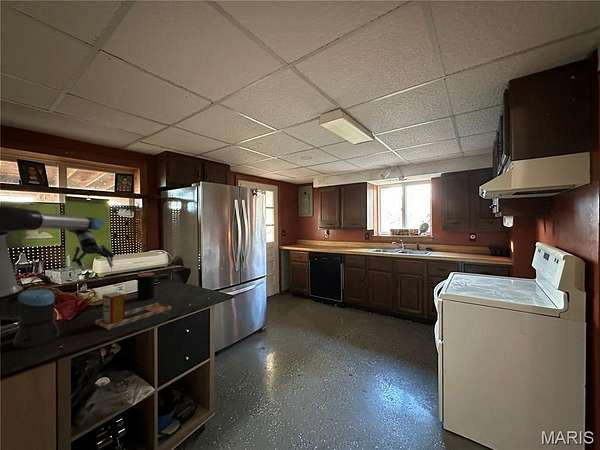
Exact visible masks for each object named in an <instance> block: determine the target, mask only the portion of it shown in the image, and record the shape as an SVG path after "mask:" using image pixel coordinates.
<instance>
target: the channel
mask: <svg viewBox="0 0 600 450" xmlns="http://www.w3.org/2000/svg"><path fill="white" fill-rule="evenodd" d="M159 305H160V302H156V303H151V304H149V305H145V306H141V307H138V308H134V309H131V310H127V311H125V317H127V316H129V315H133V314H136V313H140V312H143V311H147V310H146V309H149V308H152V307H156V306H159ZM164 307H165V308H161V309H158V310H155V311H152V312H150V311H148V312H146V313H142V314H140V315H136V316H133V317H129V318H127V319H126V318H125V319H126V320H123V321H120V322H117V323H113V324H110V325H107V328H106V330H107V331H109V330H111V329H114V328H118V327H120V326H123V325H124V326H125V325H127V324H131V323H133V322H136V321H139V320H142V319H145V318H149V317H151V316H155V315H158V314H160V313H164V312H168V311H170V310H172V306H171V305H168V306H164ZM94 321H95V324H94V325H96V326H97V325H98V324H99V323H102V322H103V318H100V319H96V320H94Z"/></svg>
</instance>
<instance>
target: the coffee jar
mask: <svg viewBox="0 0 600 450" xmlns="http://www.w3.org/2000/svg"><path fill="white" fill-rule="evenodd" d="M154 275H155V273H154V272H144V273H138V274H137V275H136V276H137V279H136V280H137V286H136V287H137V291H136V292H137V300H139V301H147V300H151V299H153V298H154V297H155V276H154Z"/></svg>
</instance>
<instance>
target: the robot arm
mask: <svg viewBox="0 0 600 450" xmlns="http://www.w3.org/2000/svg"><path fill="white" fill-rule="evenodd" d="M103 225H104V220H103V219H102V218H101V217H93V216H92V217H91V216H90V217H89V216H79V215H78V216H77V215H68V214H56V213H44V212H41V211H39V210H35V209H28V208H21V207H13V206H9V205H8V206H7V205H0V321H1V320H18V329H17V332H16V333H15V336H14V338H13V342H12V344H13V345H12V346H13V348H17V349H22V348H25V349H26V348H31V347H35V346H39V345H44V344H46V343H49V342H51V341H53V340H55V339H57V338H59V337H60V329H59V327H58V325H57V323H56V321H55V308H56V307H55V305H56V304H55V300H56V299H55V298H56V297H55V293H54V291H52V290H49V289H31V290H26V291H25V290H24V287H23V286H22V285H18V282H17V279H16V275H15V271H14V267H13V264H12V260H11V256H10V251H9V249H8V245H7V242H6V237H7V236H8V235H9V233H10V232H19V231H20V232H21V231H23V232H24V231H37V230H39V229H49V230H66V231H68V232H71V233H73V234H75V236H76V237H77V240H78V242H79V245H80V246H77V247H75V253H74V255H73V258H72V260H71V262H72V263H75V264H77V266H78V267H80V268H81V271H82V272H85V271H86V265H85V264H84V259H83V258H84V257H85V256H86V255H92V254H93V255H94V254H96V255H100V256H102V257H104V258H106V261H107V264H108V265H109V268H113V265H114V263H113V261H114V260H113V259H114V256H115V254H114V253H113V252H112V251H110V250H109V249H108V248H106V247H105V245H103V244H102V245H101V246H99V245H98V243H97V241H96V239H95V237H94V234H93V233H92V231H97V230H98V231H99V230H101V229H102V228H103ZM81 251H82V253H81V254H80V255H79V253H80V252H81ZM78 255H79V256H78ZM77 257H78V258H77Z"/></svg>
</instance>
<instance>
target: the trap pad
mask: <svg viewBox="0 0 600 450" xmlns="http://www.w3.org/2000/svg"><path fill="white" fill-rule="evenodd" d="M165 307H166V306H163V305H160V304H159V306H156V307H152V308H149V309H146V310H145V311H147V312H152V311H155V310H158V309H161V308H165Z"/></svg>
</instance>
